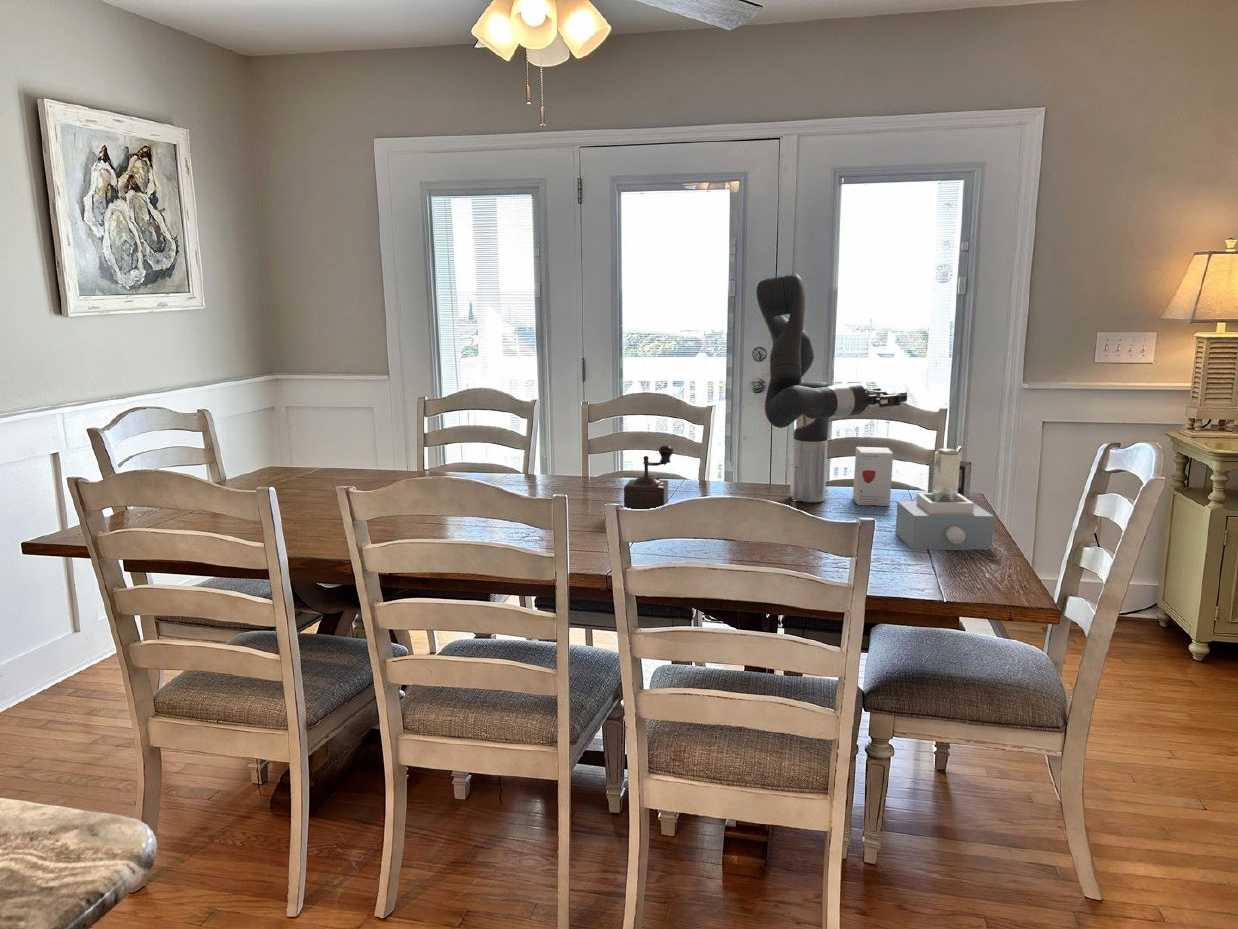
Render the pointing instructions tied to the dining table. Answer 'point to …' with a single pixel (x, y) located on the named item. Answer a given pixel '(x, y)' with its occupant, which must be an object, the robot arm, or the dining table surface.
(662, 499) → the manual coffee grinder
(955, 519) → the box
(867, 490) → the supplement box
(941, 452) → the spout can
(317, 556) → the dining table surface
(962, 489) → the coffee box
